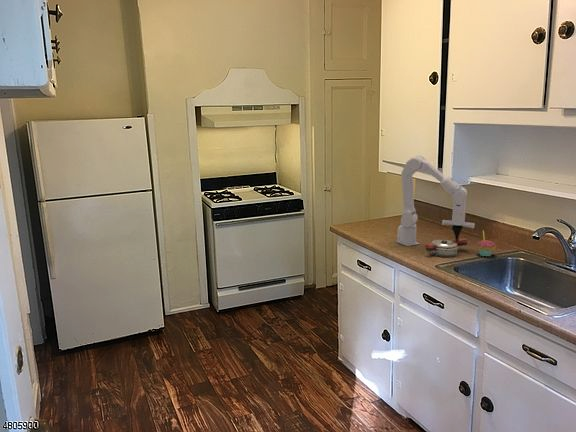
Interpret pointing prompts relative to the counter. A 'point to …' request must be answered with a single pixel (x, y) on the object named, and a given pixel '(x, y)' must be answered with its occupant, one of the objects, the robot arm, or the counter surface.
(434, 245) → the lid
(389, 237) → the counter surface
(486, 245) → the cupcake
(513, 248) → the counter surface
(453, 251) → the pot
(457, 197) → the robot arm
